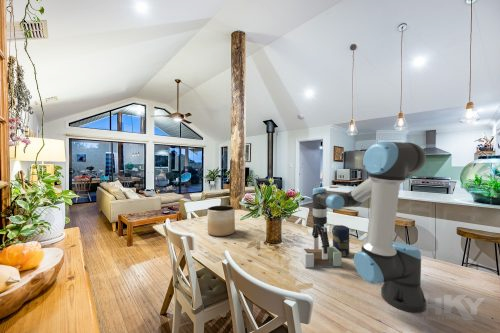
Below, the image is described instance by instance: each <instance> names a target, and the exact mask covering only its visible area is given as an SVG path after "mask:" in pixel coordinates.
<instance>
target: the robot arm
mask: <svg viewBox="0 0 500 333" xmlns="http://www.w3.org/2000/svg"><path fill="white" fill-rule="evenodd" d="M362 159H363V160H362V162H363V166H364V167H365V168H364V170H365V171H367V173H368V178H367V179H365V180H364V181H362V182H361V183H360V184H359V185H357V186H356V187H354V188H353V189H352V190H350V191H349V192H337V193H331V192H330V193H329V192H327V188H324V187H314V188H313V189H312V194H311V196H312V222H313V226H312V233H311V236H312V237H313V249H320V248H319V237H320V241H321V249H322V259H328V247H331V246H330V240H329V235H328V227H325V225H326V224H328V221H327V220H328V217H327V215H328V209H331V210H336V211H338V210H341V209H343V208H357V207H361V206H363V205H364V203H365V201H366V200H368V199H369V198H370V205H369V214H368V222H367V223H368V226H367V232H366V233H367V234H366V235H367V236H366V240H363V241H362V244H361V251H360V250H359V251H357V252H356V253H355V254H354V256H353V264H354V267H355V269H356V271H357V273H358V275H359V276H360V277H361V278H362V279H363V280H364V281H365V282H366V283H369V284H371V285H376V284H382V287H381V290H380V295H381V298H382V299H383V300H384V301H385V302H386V303H387V304H389V305H390V306H392V307H395V308H396V309H399V310H402V311H405V312H410V313H422V312H425V310H426V309H427V301H426V298H425V297H426V296H425V295H424V292H423V290H422V285H421V284H422V283H421V281H422V280H421V279H422V278H421V277H422V274H421V273H422V255H421V250H419V248H418V247H415V246H414V245H411V244H408V243H405V242H402V241H401V242H400V241H394V235H395V230H396V229H395V226H396V218H397V211H398V210H397V209H398V201H399V194H400V185H401V184H403V183H404V182H405V181H406V180H407V179H408V178H409V177H411V176H413V175H415V174H416V173H418V172H419V171H420V170H422V168H424V166H425V165H426V161H427V155H426V153H425V150H424V149H423V148H422V147H421V146H419V145H418V144H416V143H414V142H409V141H408V142H407V141H405V142H402V141H401V142H399V141H380V142H375V143H373V144H372V145H370V146H369V147H368V148H367V149H366V151H365V152H364V155H363V158H362Z"/></svg>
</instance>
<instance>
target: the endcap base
mask: <svg viewBox="0 0 500 333" xmlns="http://www.w3.org/2000/svg"><path fill="white" fill-rule="evenodd" d="M305 249H310V248H309V247H301V248H300V261H301V263H302V265H303V266H304V268H305V269H323V268H324V269H328V268H329V269H331V268H332V269H333V268H337V269H338V268H343V266H342V265H341V266H333V260H329V265H314V254H313V253H306V251H305Z"/></svg>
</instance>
